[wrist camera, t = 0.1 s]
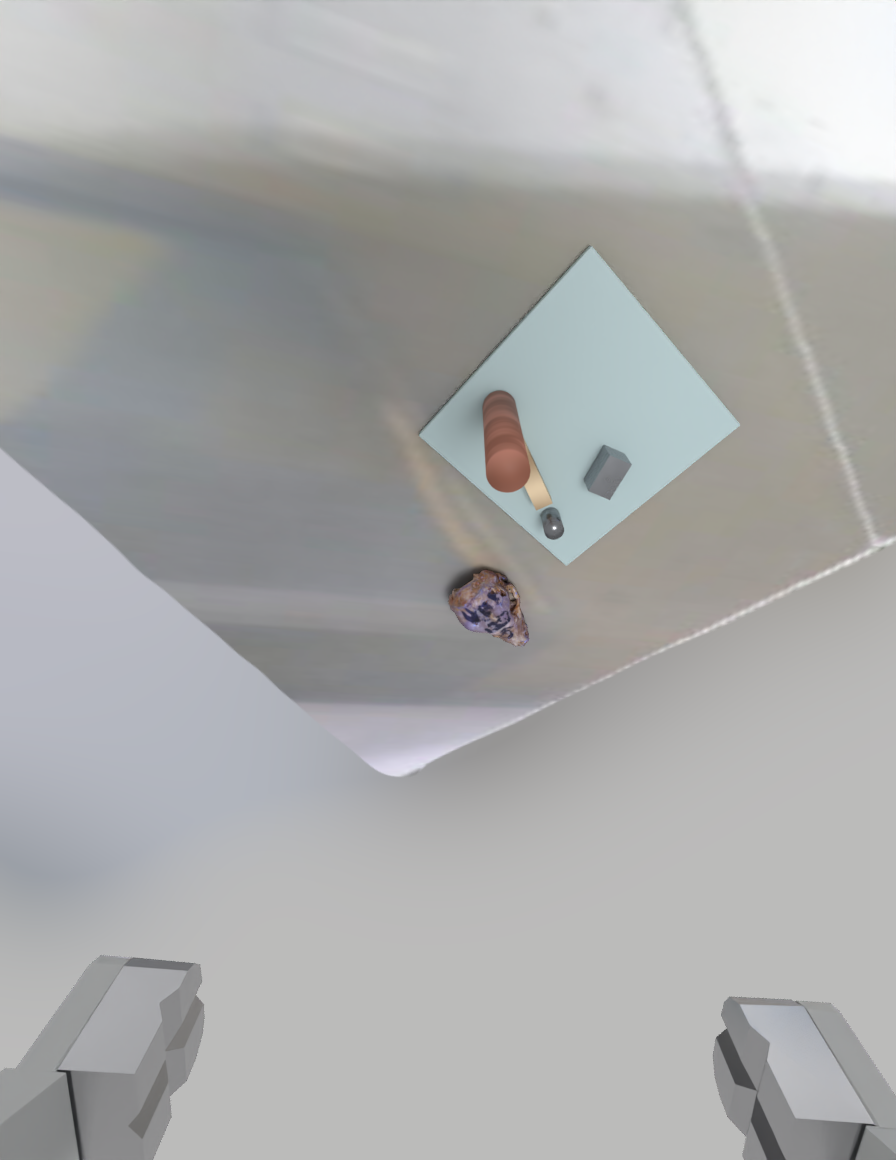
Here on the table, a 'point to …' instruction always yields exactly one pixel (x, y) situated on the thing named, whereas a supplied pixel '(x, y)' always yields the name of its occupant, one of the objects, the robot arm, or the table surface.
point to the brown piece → (510, 451)
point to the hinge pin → (552, 523)
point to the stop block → (607, 472)
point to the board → (585, 406)
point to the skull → (490, 608)
